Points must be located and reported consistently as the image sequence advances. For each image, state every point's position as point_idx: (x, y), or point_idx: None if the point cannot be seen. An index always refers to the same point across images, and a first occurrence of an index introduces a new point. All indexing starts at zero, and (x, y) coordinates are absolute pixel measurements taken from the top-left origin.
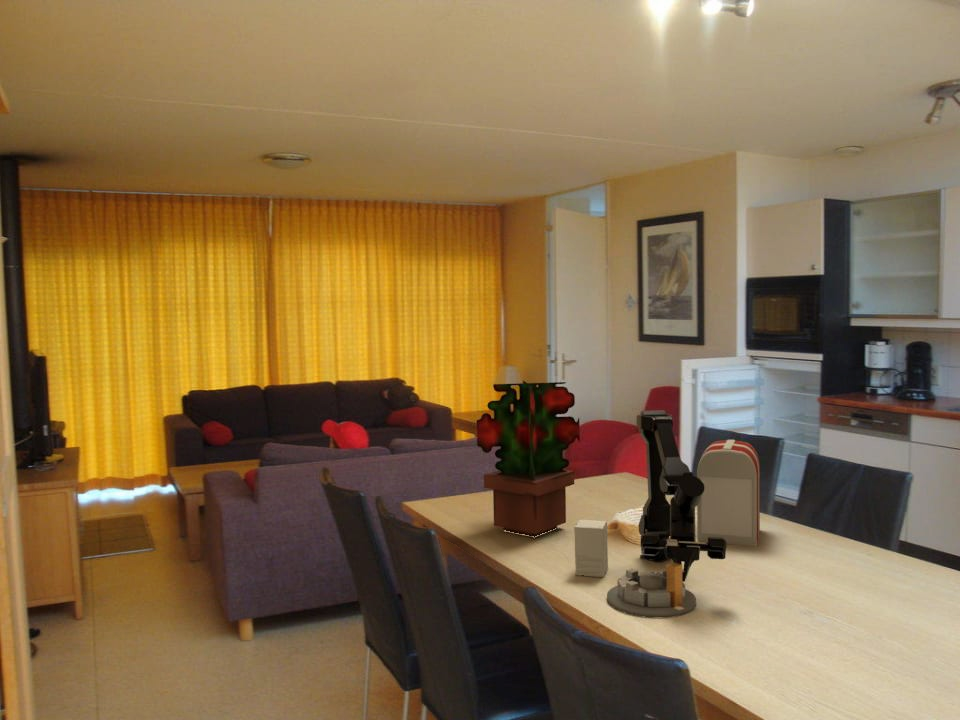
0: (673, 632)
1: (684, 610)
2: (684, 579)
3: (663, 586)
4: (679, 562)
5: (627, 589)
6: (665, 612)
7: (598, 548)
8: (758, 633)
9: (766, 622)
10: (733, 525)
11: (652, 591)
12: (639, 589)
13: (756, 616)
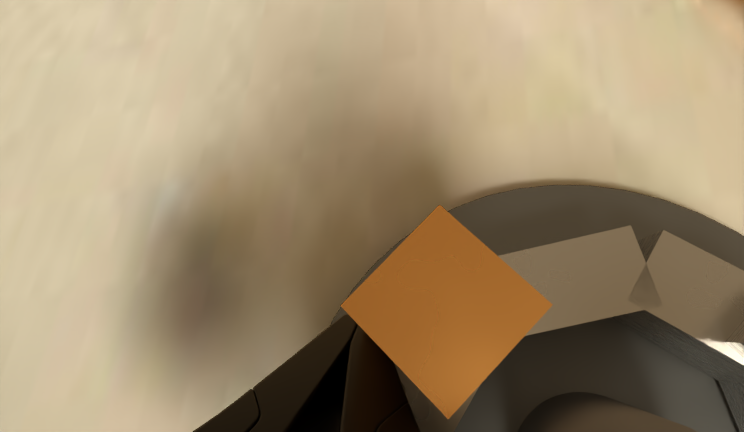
0: (443, 43)
1: (380, 260)
2: (347, 314)
3: None
4: (370, 409)
5: None
6: (484, 202)
7: None
8: (101, 98)
9: (30, 217)
10: None
11: (601, 280)
12: (712, 315)
13: (46, 283)
